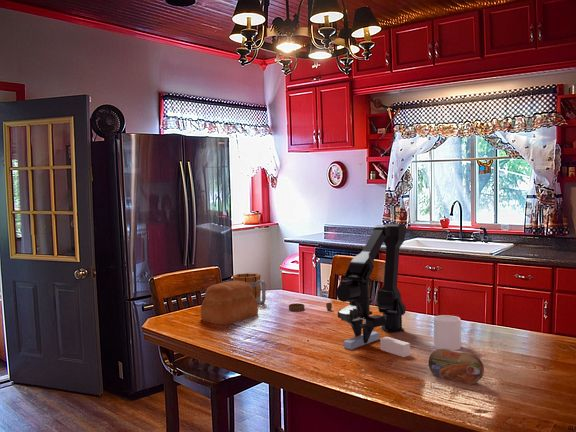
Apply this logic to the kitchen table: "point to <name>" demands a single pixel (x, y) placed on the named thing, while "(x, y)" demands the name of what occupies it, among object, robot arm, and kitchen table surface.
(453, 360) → the tin
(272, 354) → the kitchen table surface
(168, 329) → the kitchen table surface
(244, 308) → the bread
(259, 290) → the mug
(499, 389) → the kitchen table surface
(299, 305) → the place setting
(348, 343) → the bar
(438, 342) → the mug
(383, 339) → the fulcrum
